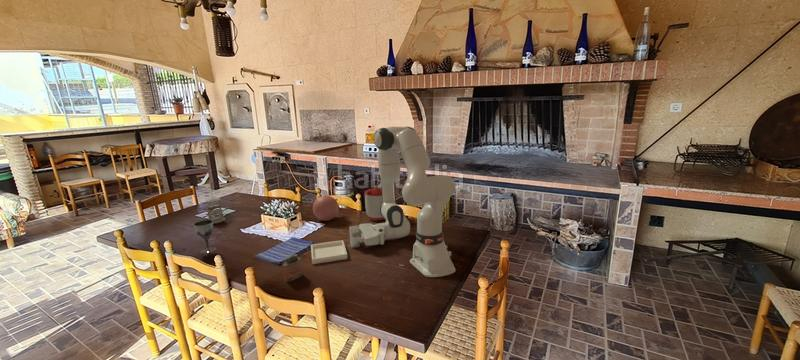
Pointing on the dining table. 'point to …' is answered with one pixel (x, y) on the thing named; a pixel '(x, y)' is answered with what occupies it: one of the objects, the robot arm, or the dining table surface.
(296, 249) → the dish towel
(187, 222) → the dining table surface
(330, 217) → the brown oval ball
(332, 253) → the tray
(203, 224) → the wine glass
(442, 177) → the robot arm
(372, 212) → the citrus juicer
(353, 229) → the block
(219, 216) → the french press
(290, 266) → the lighter
